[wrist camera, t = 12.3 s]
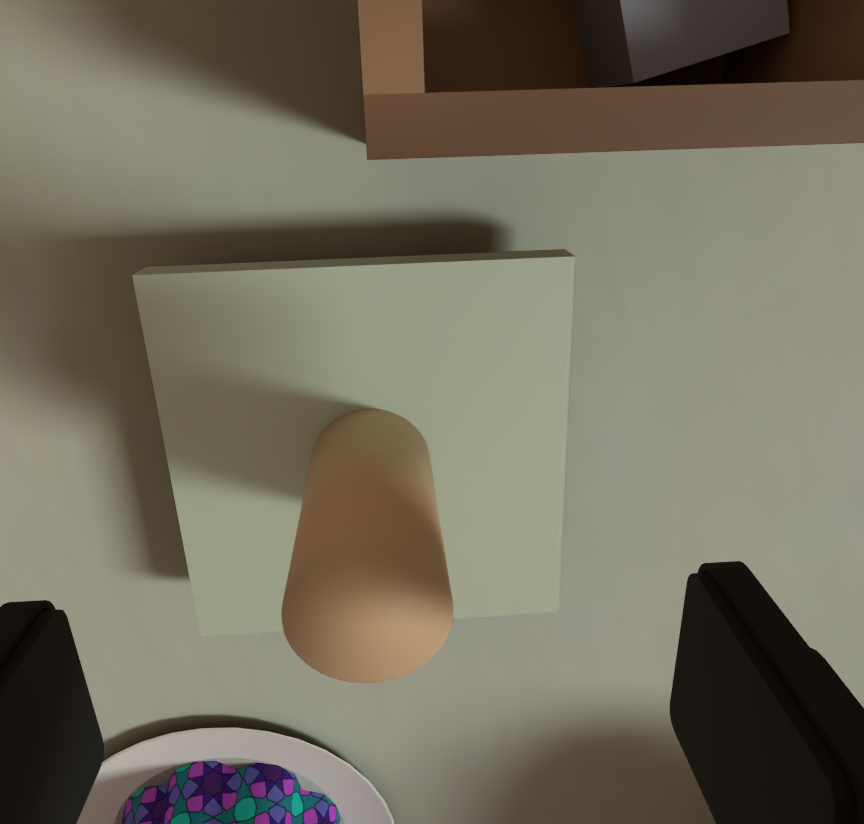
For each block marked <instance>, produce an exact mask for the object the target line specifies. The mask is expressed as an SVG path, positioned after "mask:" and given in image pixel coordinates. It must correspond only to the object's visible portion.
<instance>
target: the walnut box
mask: <svg viewBox="0 0 864 824" xmlns="http://www.w3.org/2000/svg"><path fill="white" fill-rule="evenodd" d="M787 5H788V17H789V28H790V33H788V34H785V35H782V36H778V37H775V38H772V39H769V40H766V41H763V42H760V43H757V44H754V45H751V46H747V47H744V48H741V49H738V50H735V51H732V52H729V53H726V54H723V55H720V56H716V57H713V58H710V59H707V60H704V61H701V62H698V63H695V64H692V65H689V66H685V67H682V68H679V69H676V70H673V71H670V72H667V73H664V74H661V75H658V76H654V77H651V78H648V79H645V80H642V81H639V82H636V83H631V84H625V85H618V86H612V87H605V88H590V87H589V82H588V77H587V72H586V67H585V61H584V56H583V51H582V46H581V40H580V35H579V30H578V25H577V20H576V14H575V9H574V4H573V0H358V15H359V31H360V48H361V65H362V81H363V98H364V114H365V131H366V148H367V160H378V159H407V158H436V157H465V156H494V155H524V154H553V153H582V152H611V151H640V150H669V149H699V148H728V147H757V146H786V145H815V144H845V143H864V0H787Z"/></svg>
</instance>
